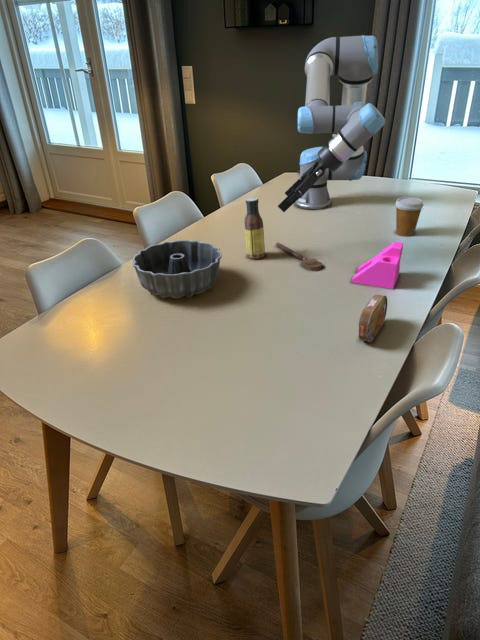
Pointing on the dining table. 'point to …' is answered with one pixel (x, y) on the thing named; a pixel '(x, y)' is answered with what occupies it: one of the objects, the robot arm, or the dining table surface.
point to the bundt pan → (178, 268)
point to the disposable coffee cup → (407, 215)
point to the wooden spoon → (302, 258)
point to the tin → (372, 318)
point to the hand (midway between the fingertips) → (284, 202)
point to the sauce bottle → (254, 230)
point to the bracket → (381, 268)
